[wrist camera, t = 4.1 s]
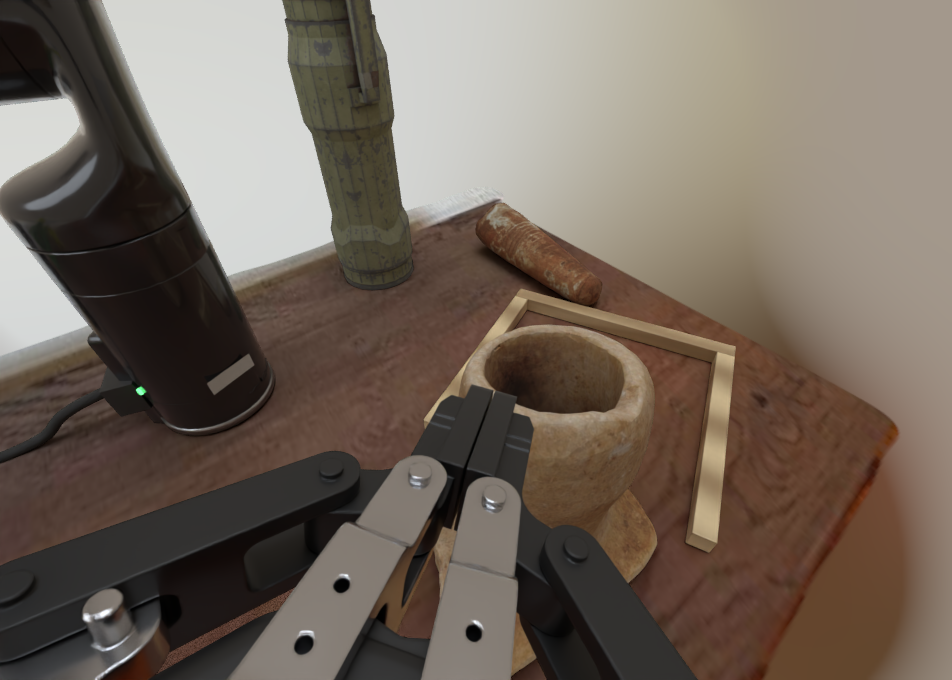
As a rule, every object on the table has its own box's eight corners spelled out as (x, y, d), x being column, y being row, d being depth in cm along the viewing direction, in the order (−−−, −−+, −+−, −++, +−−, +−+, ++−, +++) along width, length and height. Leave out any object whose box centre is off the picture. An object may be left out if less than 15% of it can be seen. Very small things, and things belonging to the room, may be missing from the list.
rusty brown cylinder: (510, 235, 61) (512, 197, 57) (608, 303, 49) (618, 260, 45) (472, 247, 58) (471, 208, 55) (565, 322, 46) (572, 279, 42)
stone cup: (560, 429, 36) (589, 277, 26) (675, 558, 28) (780, 412, 18) (389, 520, 30) (342, 371, 20) (473, 712, 22) (464, 623, 13)
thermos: (380, 241, 60) (312, -128, 37) (436, 273, 54) (397, -147, 30) (323, 266, 55) (205, -138, 32) (377, 304, 49) (279, -163, 26)
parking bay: (709, 553, 28) (717, 543, 27) (424, 430, 36) (423, 419, 35) (729, 357, 42) (735, 346, 41) (519, 299, 49) (520, 288, 48)
